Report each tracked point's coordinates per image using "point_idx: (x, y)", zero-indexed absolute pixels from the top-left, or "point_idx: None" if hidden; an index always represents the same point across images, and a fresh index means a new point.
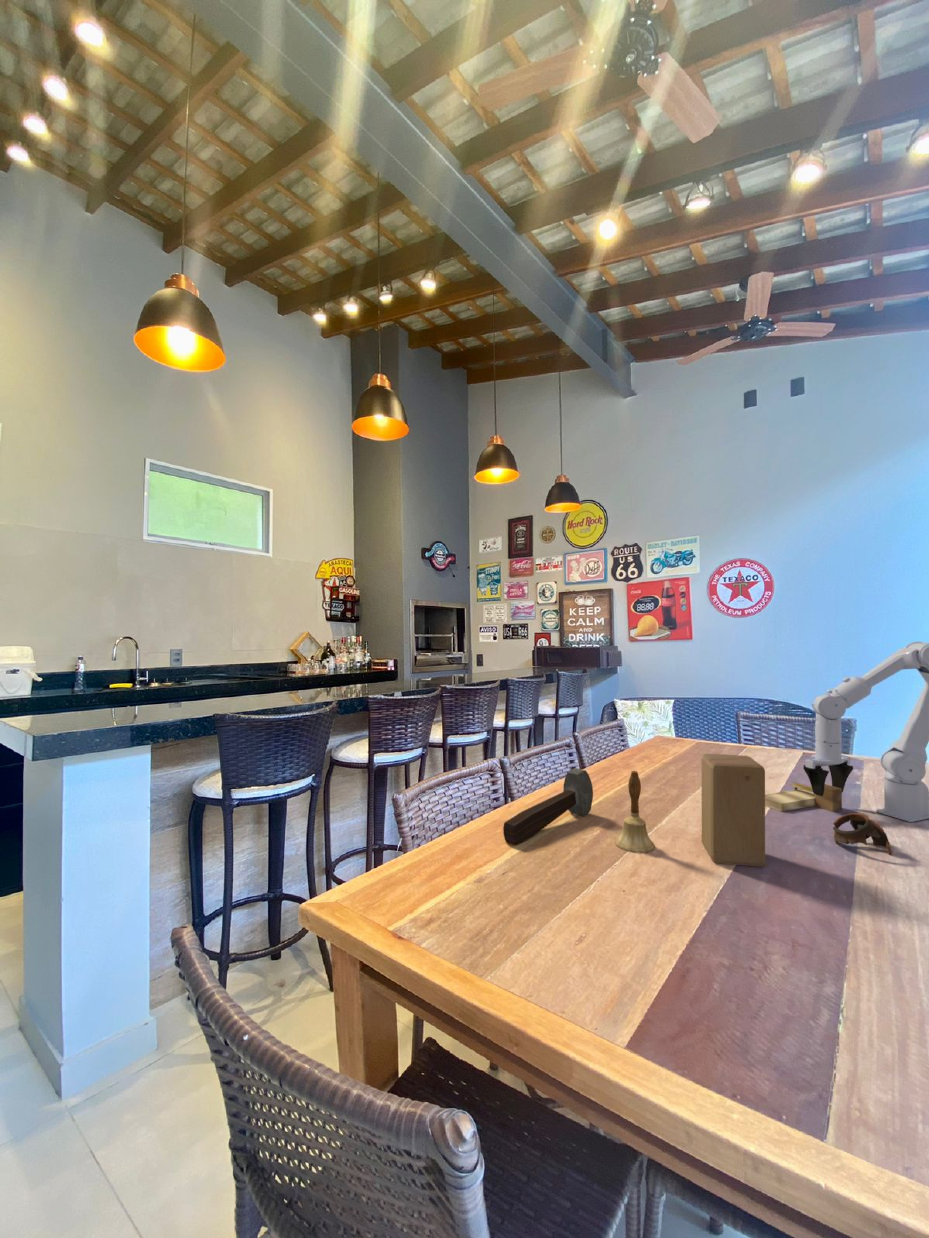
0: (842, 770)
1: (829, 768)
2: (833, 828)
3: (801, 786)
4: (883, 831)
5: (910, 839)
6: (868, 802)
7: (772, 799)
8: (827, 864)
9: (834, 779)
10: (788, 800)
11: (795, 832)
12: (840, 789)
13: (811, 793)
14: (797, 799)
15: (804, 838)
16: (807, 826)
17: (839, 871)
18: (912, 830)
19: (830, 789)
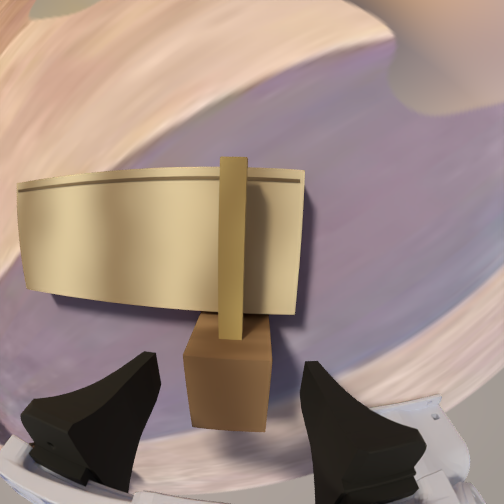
0: (320, 492)
1: (344, 433)
2: (29, 444)
3: (219, 226)
4: None
5: (204, 487)
6: (438, 339)
7: (27, 240)
8: (12, 426)
9: (319, 407)
10: (66, 276)
11: (12, 370)
12: (254, 429)
13: (267, 253)
14: (106, 286)
15: (15, 389)
16: (45, 374)
17: (17, 436)
18: (267, 479)
19: (192, 419)
